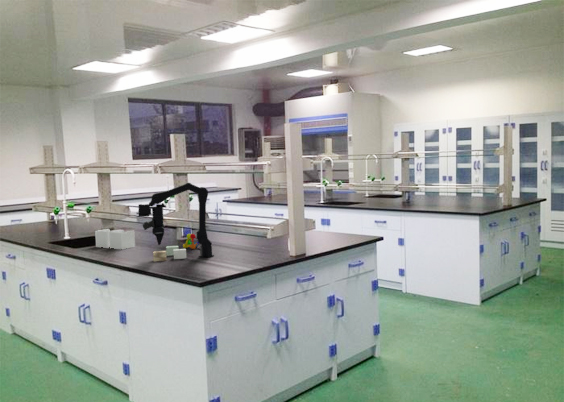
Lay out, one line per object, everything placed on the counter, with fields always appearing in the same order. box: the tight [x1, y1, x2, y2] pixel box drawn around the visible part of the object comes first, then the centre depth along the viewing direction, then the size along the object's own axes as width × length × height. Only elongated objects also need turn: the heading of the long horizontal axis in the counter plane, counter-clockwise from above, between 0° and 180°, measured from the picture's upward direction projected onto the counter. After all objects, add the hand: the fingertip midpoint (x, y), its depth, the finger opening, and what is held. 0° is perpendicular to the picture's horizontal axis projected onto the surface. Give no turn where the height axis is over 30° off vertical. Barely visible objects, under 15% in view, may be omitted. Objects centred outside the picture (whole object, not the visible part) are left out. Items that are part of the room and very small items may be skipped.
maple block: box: [152, 250, 168, 262], centre depth 277 cm, size 7×4×5 cm, turn 103°
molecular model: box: [182, 233, 200, 250], centre depth 313 cm, size 11×10×15 cm
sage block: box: [165, 245, 179, 257], centre depth 292 cm, size 7×4×5 cm, turn 103°
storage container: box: [94, 228, 136, 250], centre depth 326 cm, size 25×11×11 cm, turn 59°
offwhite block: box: [173, 248, 187, 260], centre depth 281 cm, size 7×4×5 cm, turn 103°
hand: (159, 243), depth 276 cm, fingers open, 9 cm apart
